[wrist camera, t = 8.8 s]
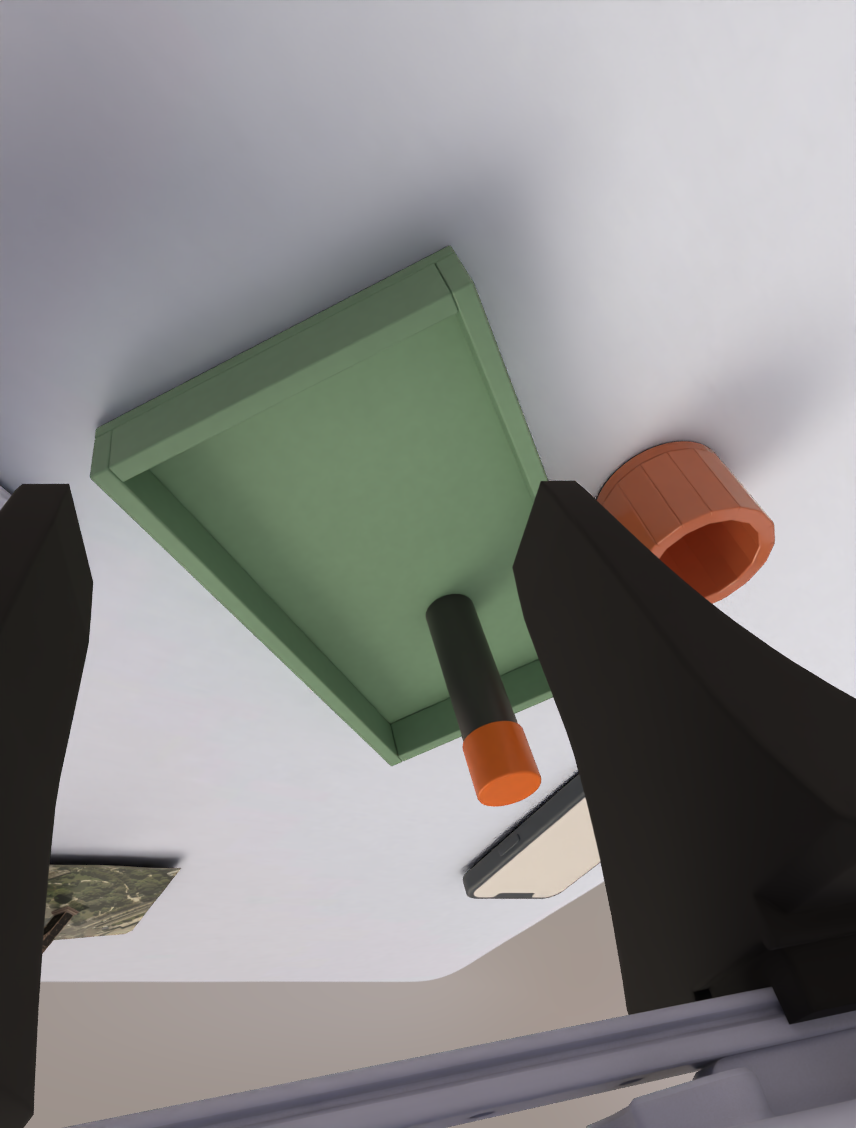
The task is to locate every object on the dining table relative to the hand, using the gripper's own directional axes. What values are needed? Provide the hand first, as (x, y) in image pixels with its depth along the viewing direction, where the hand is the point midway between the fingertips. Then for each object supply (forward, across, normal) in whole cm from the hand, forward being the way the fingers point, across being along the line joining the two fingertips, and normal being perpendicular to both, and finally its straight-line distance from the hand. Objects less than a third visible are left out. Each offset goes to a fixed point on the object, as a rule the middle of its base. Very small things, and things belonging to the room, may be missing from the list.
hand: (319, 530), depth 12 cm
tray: (+10, -5, +11) cm, 16 cm away
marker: (+10, -7, +14) cm, 18 cm away
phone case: (+10, -19, +37) cm, 43 cm away
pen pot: (+11, -14, +9) cm, 20 cm away
